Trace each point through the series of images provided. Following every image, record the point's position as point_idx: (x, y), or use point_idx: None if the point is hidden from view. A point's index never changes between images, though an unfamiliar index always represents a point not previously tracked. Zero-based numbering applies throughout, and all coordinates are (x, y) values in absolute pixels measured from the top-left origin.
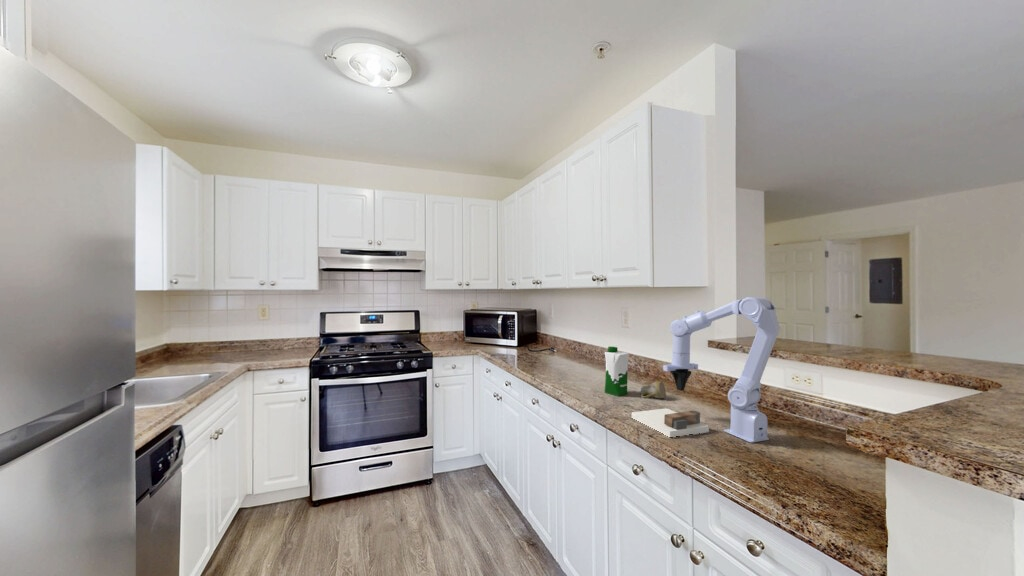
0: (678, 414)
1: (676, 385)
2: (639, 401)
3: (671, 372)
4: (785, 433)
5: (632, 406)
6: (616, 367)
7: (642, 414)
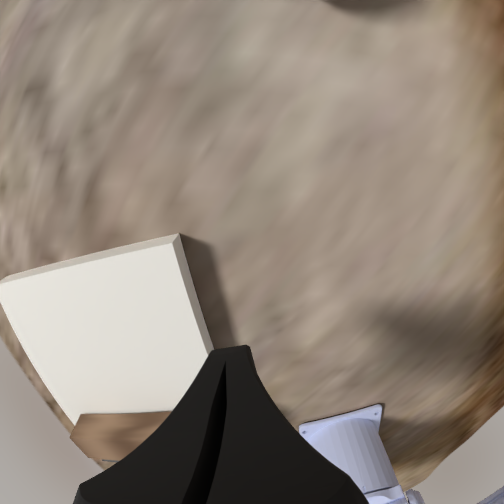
0: (119, 451)
1: (200, 377)
2: (137, 8)
3: (95, 489)
4: (456, 407)
5: (51, 104)
6: None
7: (24, 315)
